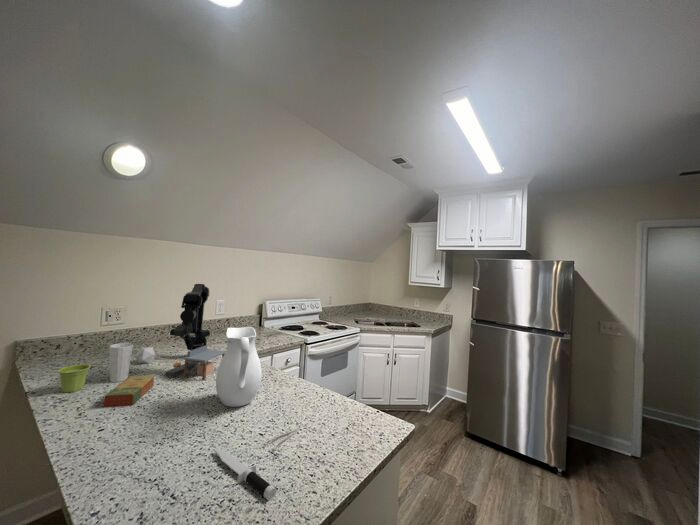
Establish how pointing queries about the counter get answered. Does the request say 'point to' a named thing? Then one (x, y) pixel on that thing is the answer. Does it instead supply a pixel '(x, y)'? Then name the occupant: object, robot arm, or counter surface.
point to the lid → (203, 354)
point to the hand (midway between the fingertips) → (189, 349)
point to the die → (145, 355)
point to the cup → (120, 361)
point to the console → (180, 369)
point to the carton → (128, 391)
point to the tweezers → (278, 439)
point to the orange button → (177, 364)
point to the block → (208, 368)
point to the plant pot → (73, 377)
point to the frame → (196, 362)
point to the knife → (247, 475)
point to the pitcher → (239, 368)
